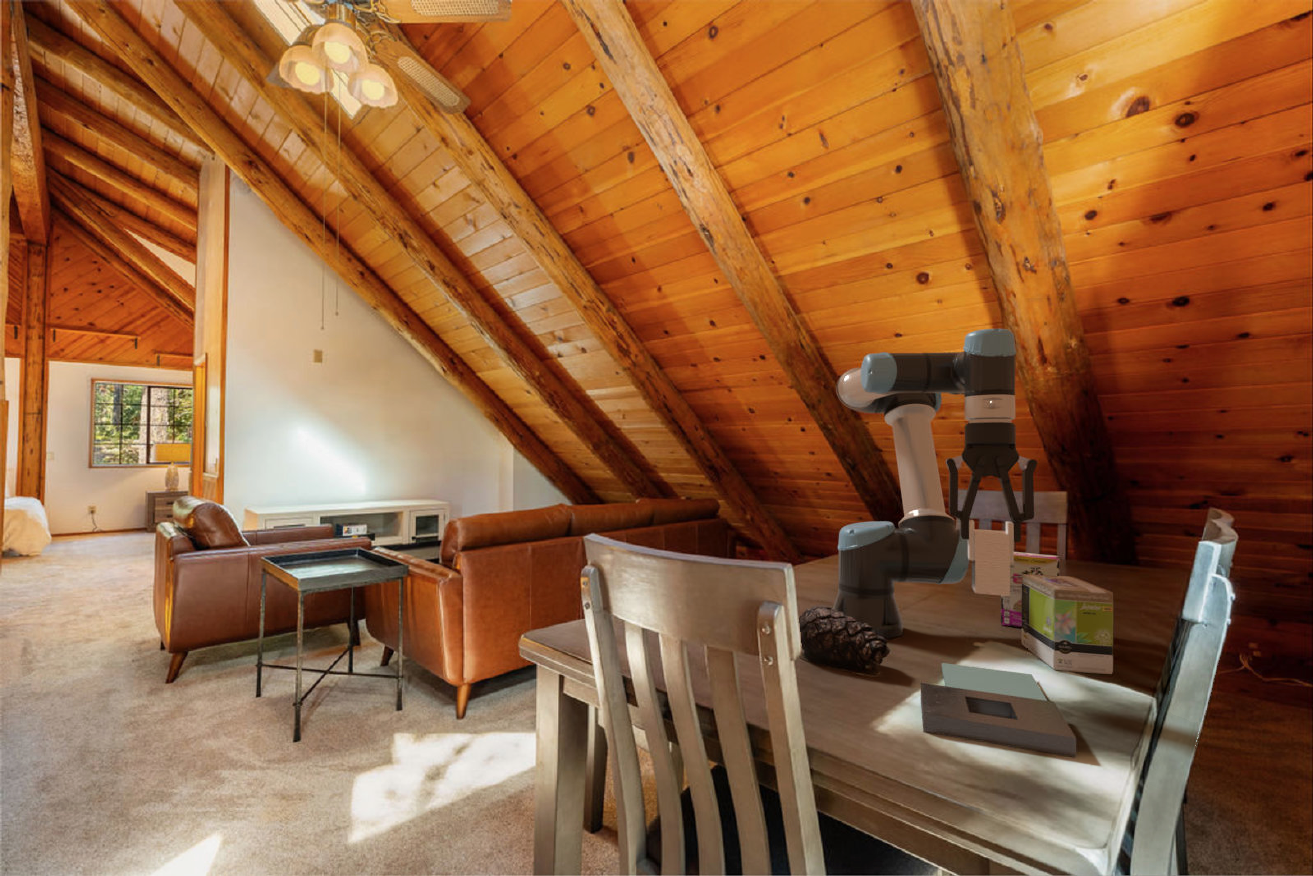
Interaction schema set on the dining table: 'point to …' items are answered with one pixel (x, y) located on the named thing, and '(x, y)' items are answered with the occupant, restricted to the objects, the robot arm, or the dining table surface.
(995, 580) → the pale wooden block
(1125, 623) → the dining table surface
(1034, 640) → the tea box
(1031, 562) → the candy bar box
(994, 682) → the pad
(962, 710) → the grey slotted board
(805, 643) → the pine cone
